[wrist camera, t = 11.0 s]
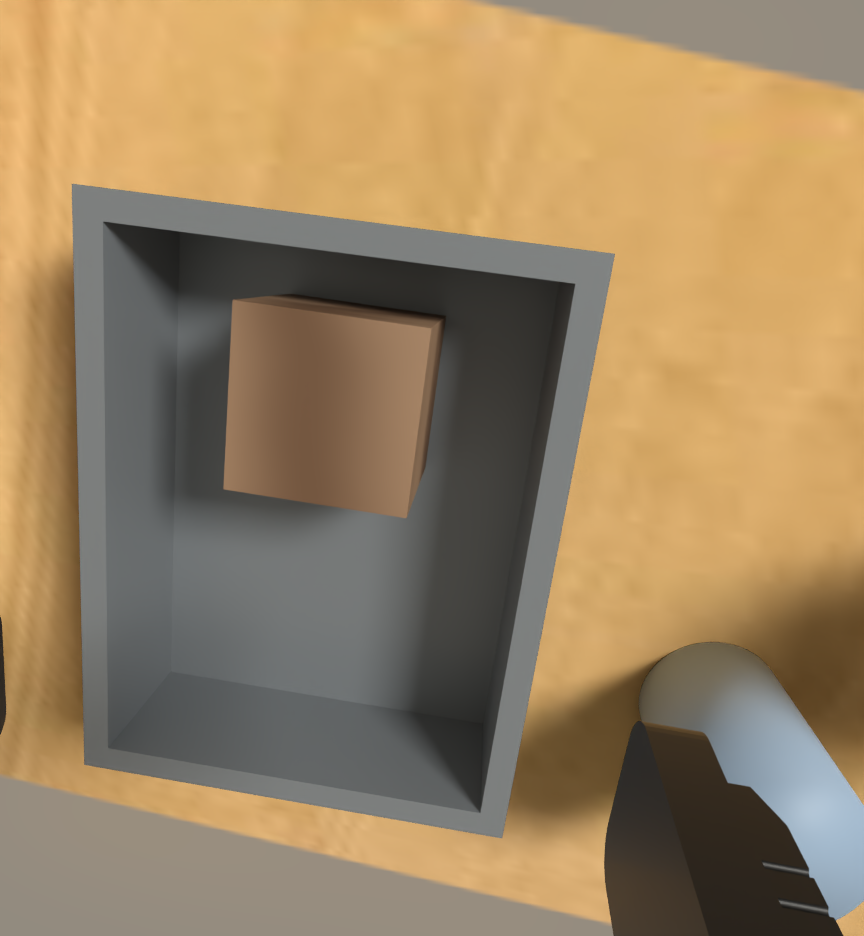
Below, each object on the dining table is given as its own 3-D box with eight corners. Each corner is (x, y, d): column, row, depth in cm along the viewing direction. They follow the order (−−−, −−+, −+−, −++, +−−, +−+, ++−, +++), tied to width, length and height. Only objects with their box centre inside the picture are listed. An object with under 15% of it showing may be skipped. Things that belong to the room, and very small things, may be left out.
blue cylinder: (796, 654, 24) (910, 800, 18) (760, 770, 26) (852, 946, 19) (654, 631, 25) (712, 766, 18) (626, 748, 26) (670, 914, 19)
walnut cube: (446, 315, 22) (431, 328, 17) (425, 467, 23) (406, 518, 18) (290, 293, 22) (232, 299, 17) (279, 444, 23) (223, 489, 19)
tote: (588, 257, 21) (614, 254, 17) (501, 735, 26) (502, 838, 22) (164, 202, 22) (71, 183, 17) (157, 677, 27) (84, 764, 22)
